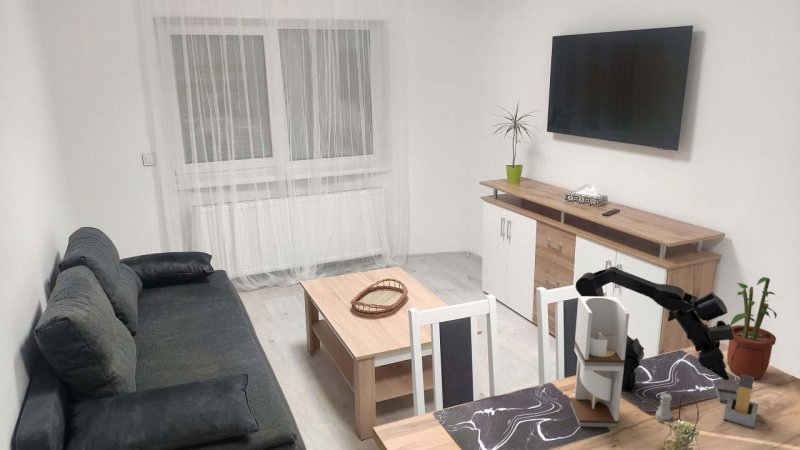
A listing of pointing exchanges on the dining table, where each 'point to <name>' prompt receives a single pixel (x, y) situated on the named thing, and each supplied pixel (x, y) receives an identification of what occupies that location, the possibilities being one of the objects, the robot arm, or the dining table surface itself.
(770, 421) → the dining table surface
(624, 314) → the curved tiered shelf
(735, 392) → the charcoal tray
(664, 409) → the rook chess piece
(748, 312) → the potted plant
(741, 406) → the amber plug
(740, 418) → the steel socket block
